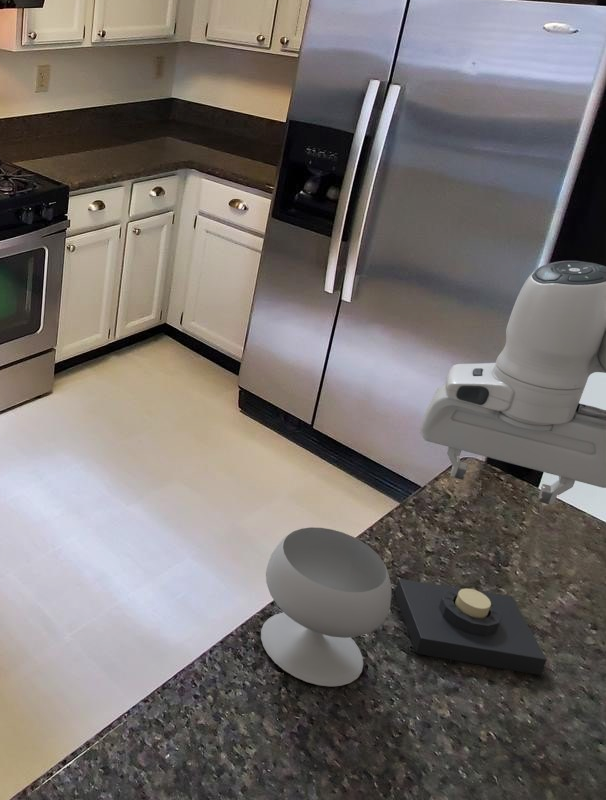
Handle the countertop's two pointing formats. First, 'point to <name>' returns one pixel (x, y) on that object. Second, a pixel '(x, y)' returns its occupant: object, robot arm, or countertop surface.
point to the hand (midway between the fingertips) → (500, 488)
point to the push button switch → (473, 603)
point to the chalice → (324, 604)
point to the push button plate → (468, 628)
